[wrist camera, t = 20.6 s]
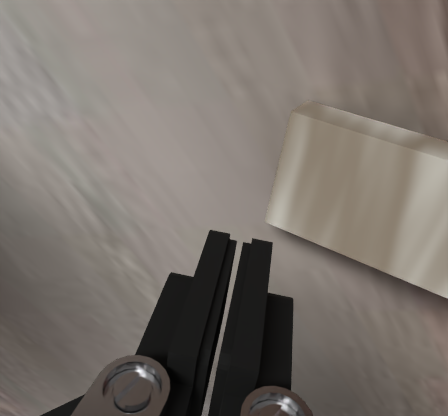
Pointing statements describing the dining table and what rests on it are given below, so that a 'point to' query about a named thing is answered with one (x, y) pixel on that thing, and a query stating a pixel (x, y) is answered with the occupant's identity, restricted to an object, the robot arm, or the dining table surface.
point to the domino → (365, 193)
